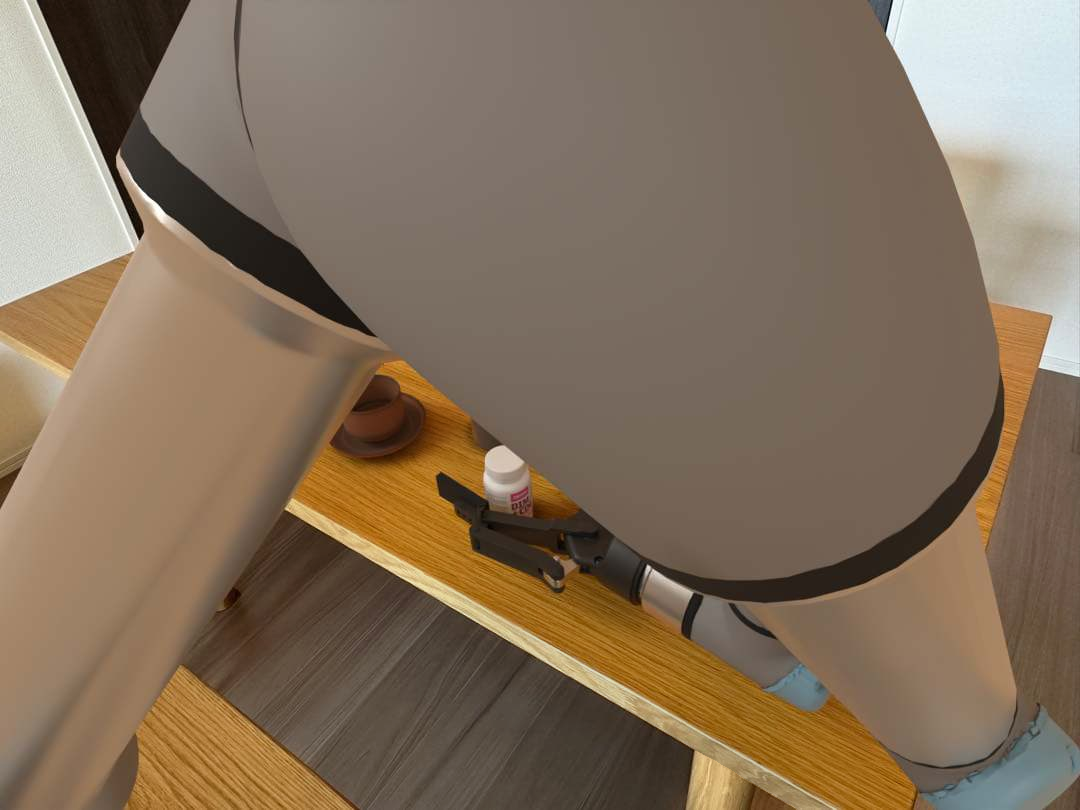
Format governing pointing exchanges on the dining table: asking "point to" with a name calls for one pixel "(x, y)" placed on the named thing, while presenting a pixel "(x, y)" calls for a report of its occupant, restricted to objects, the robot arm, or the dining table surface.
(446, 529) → the dining table surface
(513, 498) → the pill bottle
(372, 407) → the cup and saucer
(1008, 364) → the dining table surface
